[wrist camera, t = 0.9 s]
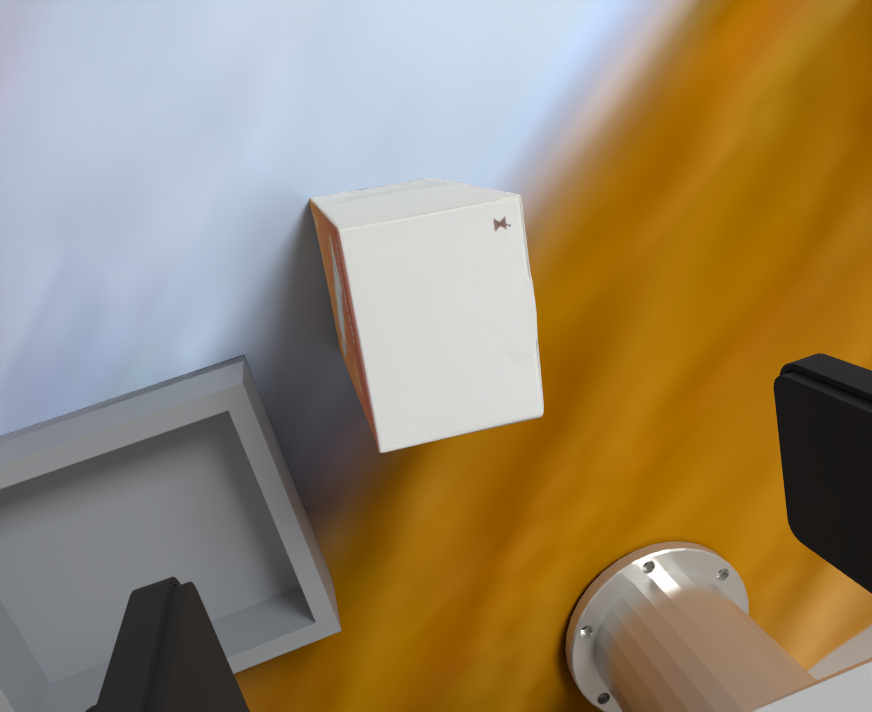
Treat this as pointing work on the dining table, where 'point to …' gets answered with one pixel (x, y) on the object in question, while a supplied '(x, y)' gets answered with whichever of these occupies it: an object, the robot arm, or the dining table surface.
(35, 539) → the tray
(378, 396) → the small box
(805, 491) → the robot arm
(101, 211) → the dining table surface
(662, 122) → the dining table surface
